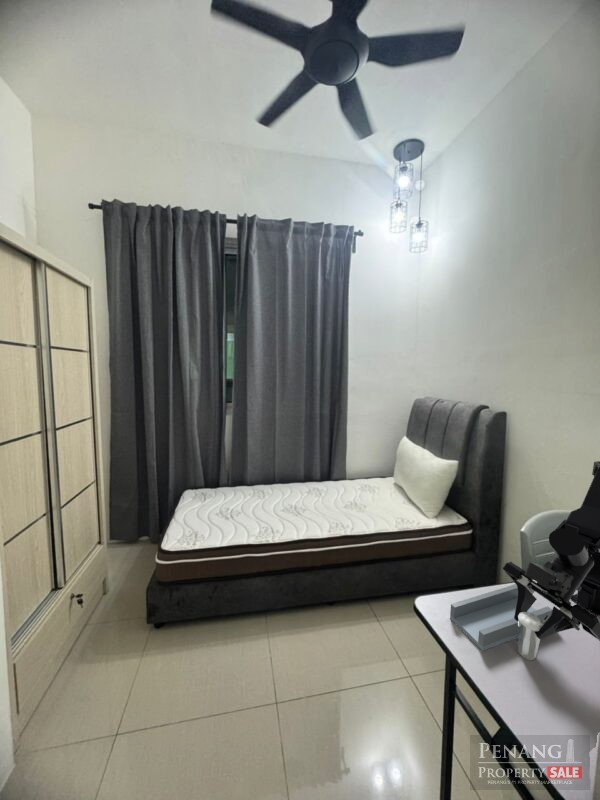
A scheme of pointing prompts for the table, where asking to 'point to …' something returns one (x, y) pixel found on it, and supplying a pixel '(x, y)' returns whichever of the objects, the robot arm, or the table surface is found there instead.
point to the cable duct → (491, 617)
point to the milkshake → (528, 634)
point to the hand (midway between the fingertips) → (526, 628)
